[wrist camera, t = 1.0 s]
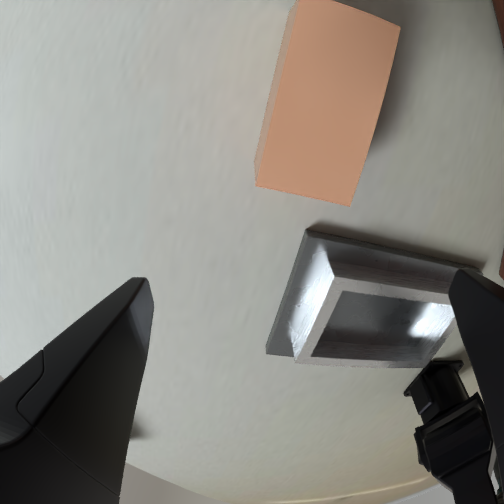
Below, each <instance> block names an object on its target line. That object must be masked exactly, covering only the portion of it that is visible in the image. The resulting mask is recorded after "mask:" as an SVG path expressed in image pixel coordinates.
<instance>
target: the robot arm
mask: <svg viewBox="0 0 504 504" xmlns="http://www.w3.org/2000/svg"><path fill="white" fill-rule="evenodd" d="M448 297H449V300H450V303H451V306H452V309H453V312H454V315H455V319H456V322H457V325H458V328H459V332H460V335H461V338H462V341H463V343H464V346H465V349H466V351H467V354H468V357H469V359H470V362H471V365H472V368H473V371H474V374H475V377H476V380H477V383H478V386H479V389H480V392H481V395H482V399H483V401H482V399H481V397H480V395H479V393H478V392H476V393H475V394H474V395H473V396H471V397H469V395H468V393H467V391H466V389H465V387H464V385H463V383H462V381H461V378H460V376H459V374H458V371H459V370H460V369H461V367H462V366H463V365H464V363H463V361H444V362H430V363H428V364H427V365H426V367H425V368H424V369H423V370H422V372H421V373H420V374H419V375H418V376H417V378H416V379H415V380H414V381H413V382H412V384H411V385H410V386H409V387H408V388H407V389H406V390H405V392H404V396H405V397H407V396H412V398H413V401H414V404H415V407H416V409H417V412H418V414H419V415H421V418H422V421H423V424H424V425H422V426H420V427H417V428H415V431H416V432H415V433H414V437H415V440H416V444H417V450H418V461H419V464H421V465H424V467H425V468H426V469H427V471H428V472H431V473H432V475H433V476H434V477H435V478H436V479H437V481H438V482H439V483H440V484H441V485H442V486H444V487H445V488H447V489H448V490H449V491H451V492H452V493H453V495H454V500H455V504H498V501H497V497H496V494H495V491H494V487H493V484H492V481H491V474H492V471H493V467H494V463H495V459H496V455H497V460H498V465H499V471H500V477H501V483H502V490H503V498H504V288H503V287H502V286H500V285H498V284H496V283H495V282H493V281H491V280H489V279H488V278H486V277H484V276H482V275H480V274H478V273H477V272H475V271H473V270H471V269H469V268H462V269H458V270H457V271H456V273H455V275H454V278H453V280H452V283H451V285H450V288H449V291H448ZM153 312H154V301H153V297H152V293H151V289H150V285H149V281H148V280H147V278H145V277H133V278H131V279H129V280H128V281H127V282H125V283H124V284H123V285H122V286H120V287H119V288H118V289H116V290H115V291H114V292H112V293H111V294H110V295H109V296H107V297H106V298H105V299H103V300H102V301H101V302H100V303H98V304H97V305H96V306H94V307H93V308H92V309H91V310H89V311H88V312H87V313H86V314H84V315H83V316H82V317H81V318H79V319H78V320H77V321H76V322H74V323H73V324H72V325H71V326H69V327H68V328H67V329H66V330H64V331H63V332H62V333H61V334H59V335H58V336H57V337H56V338H55V339H53V340H52V341H51V342H50V343H49V344H47V345H46V346H45V347H44V348H43V350H40V351H39V352H38V353H37V354H35V355H34V356H33V357H32V358H31V359H29V360H28V361H27V362H26V363H24V364H23V365H22V366H21V367H20V368H18V369H17V370H16V371H14V372H13V373H12V374H11V375H9V376H8V377H7V378H5V379H4V380H3V381H1V382H0V504H119V499H120V497H119V495H120V491H121V484H122V478H123V472H124V466H125V461H126V455H127V449H128V444H129V439H130V434H131V429H132V424H133V419H134V414H135V409H136V405H137V400H138V396H139V391H140V387H141V382H142V378H143V374H144V370H145V366H146V361H147V356H148V349H149V341H150V333H151V326H152V319H153ZM483 402H484V403H483ZM492 437H493V438H492ZM493 440H494V441H493ZM494 444H495V446H494ZM495 449H496V450H495Z"/></svg>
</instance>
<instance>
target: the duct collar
mask: <svg viewBox="0 0 504 504" xmlns="http://www.w3.org/2000/svg"><path fill="white" fill-rule="evenodd" d="M462 268H469V269H471V270H473V271H475V272H477V273H478V274H480V275H482V276H483V273H482V272H481V271H480V270H479V269H478V268H475V267H471V266H467V265H463V264H459V263H455V262H451V261H446V260H442V259H438V258H434V257H430V256H425V255H421V254H417V253H412V252H408V251H403V250H399V249H395V248H390V247H386V246H381V245H376V244H372V243H367V242H363V241H358V240H353V239H348V238H344V237H339V236H334V235H329V234H324V233H319V232H315V231H310V230H305V232H304V236H303V239H302V242H301V245H300V248H299V251H298V254H297V257H296V260H295V263H294V266H293V269H292V272H291V275H290V278H289V281H288V284H287V287H286V290H285V293H284V296H283V298H282V301H281V304H280V307H279V310H278V313H277V316H276V318H275V321H274V324H273V327H272V330H271V332H270V335H269V338H268V341H267V344H266V354H270V355H279V356H289V357H294V360H295V363H299V364H312V365H326V366H344V367H370V368H425V367H426V365H427V364H428V363H429V361H430V360H431V359H432V358H433V356H434V355H435V354H436V352H437V351H438V350H439V348H440V347H441V346H442V344H443V343H444V342H445V340H446V339H447V338H448V336H449V335H450V333H451V332H452V330H453V329H454V328H455V326H456V325H457V322H456V319H455V315H454V312H453V309H452V306H451V303H450V300H449V297H448V291H449V288H450V285H451V283H452V280H453V278H454V275H455V273H456V271H457V270H458V269H462Z"/></svg>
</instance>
